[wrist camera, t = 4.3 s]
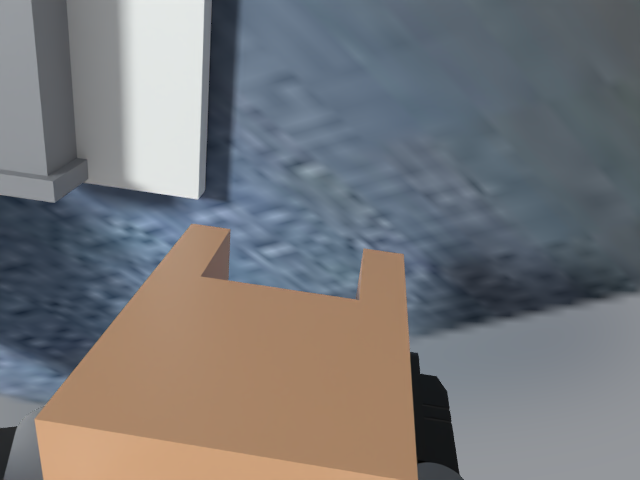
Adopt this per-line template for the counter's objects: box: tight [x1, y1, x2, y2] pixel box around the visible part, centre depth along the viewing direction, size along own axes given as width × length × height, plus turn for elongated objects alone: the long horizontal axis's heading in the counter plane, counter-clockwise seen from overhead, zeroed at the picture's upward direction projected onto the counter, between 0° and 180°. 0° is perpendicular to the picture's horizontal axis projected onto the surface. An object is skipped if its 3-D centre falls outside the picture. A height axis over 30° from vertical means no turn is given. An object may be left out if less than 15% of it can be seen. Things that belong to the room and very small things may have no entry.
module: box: [34, 224, 418, 480], centre depth 12 cm, size 5×6×7 cm
